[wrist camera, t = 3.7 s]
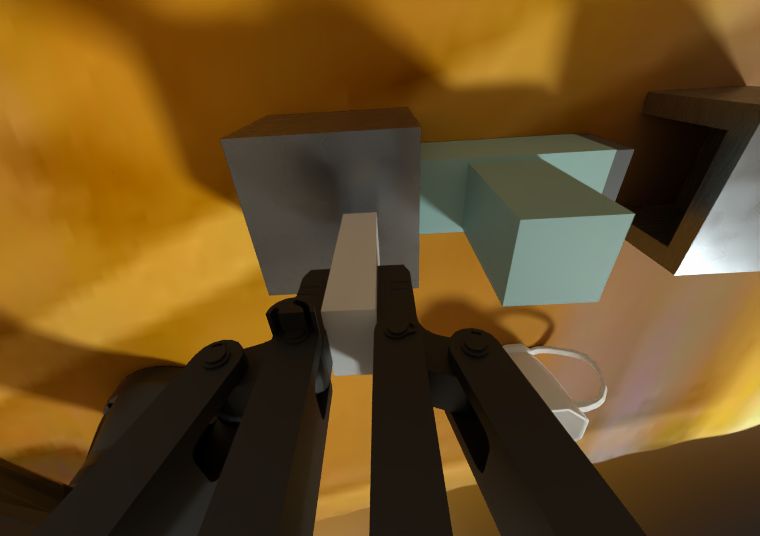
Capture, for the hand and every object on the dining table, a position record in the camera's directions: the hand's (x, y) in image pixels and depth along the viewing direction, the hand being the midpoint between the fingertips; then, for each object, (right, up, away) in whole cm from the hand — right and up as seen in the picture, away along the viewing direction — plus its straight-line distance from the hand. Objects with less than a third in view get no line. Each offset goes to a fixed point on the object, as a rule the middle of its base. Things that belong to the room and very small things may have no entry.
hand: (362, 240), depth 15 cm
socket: (+21, +6, +7) cm, 23 cm away
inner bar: (+4, +5, +8) cm, 10 cm away
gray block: (-2, +5, +8) cm, 9 cm away
